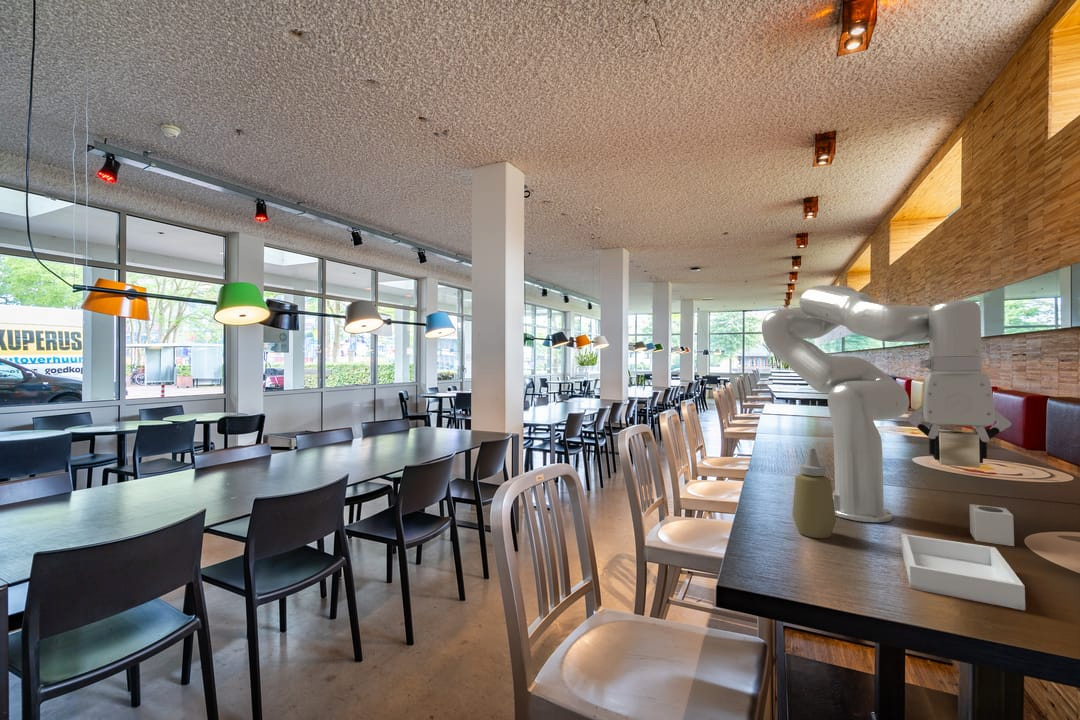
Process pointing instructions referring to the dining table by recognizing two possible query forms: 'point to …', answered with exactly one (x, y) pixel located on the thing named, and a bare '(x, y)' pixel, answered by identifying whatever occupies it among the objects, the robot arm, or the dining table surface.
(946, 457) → the ash block
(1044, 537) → the dining table surface
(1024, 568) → the dining table surface
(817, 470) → the squeeze bottle
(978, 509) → the grey block
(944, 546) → the tray
